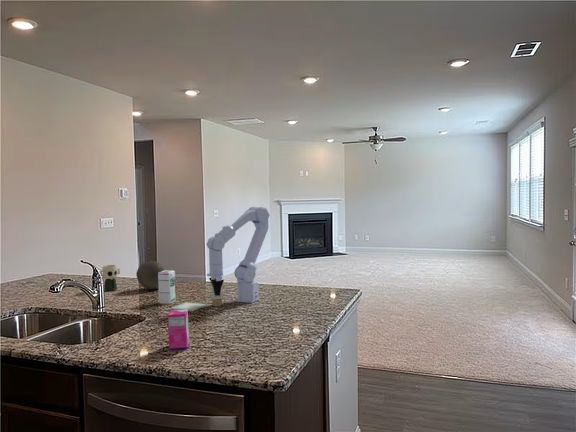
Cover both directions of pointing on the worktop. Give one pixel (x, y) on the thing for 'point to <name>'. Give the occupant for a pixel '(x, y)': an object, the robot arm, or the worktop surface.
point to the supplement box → (178, 329)
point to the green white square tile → (188, 306)
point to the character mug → (110, 276)
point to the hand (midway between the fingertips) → (216, 294)
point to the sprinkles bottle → (215, 299)
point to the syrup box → (167, 287)
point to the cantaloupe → (149, 274)
